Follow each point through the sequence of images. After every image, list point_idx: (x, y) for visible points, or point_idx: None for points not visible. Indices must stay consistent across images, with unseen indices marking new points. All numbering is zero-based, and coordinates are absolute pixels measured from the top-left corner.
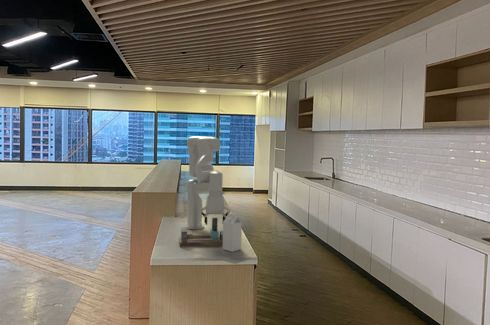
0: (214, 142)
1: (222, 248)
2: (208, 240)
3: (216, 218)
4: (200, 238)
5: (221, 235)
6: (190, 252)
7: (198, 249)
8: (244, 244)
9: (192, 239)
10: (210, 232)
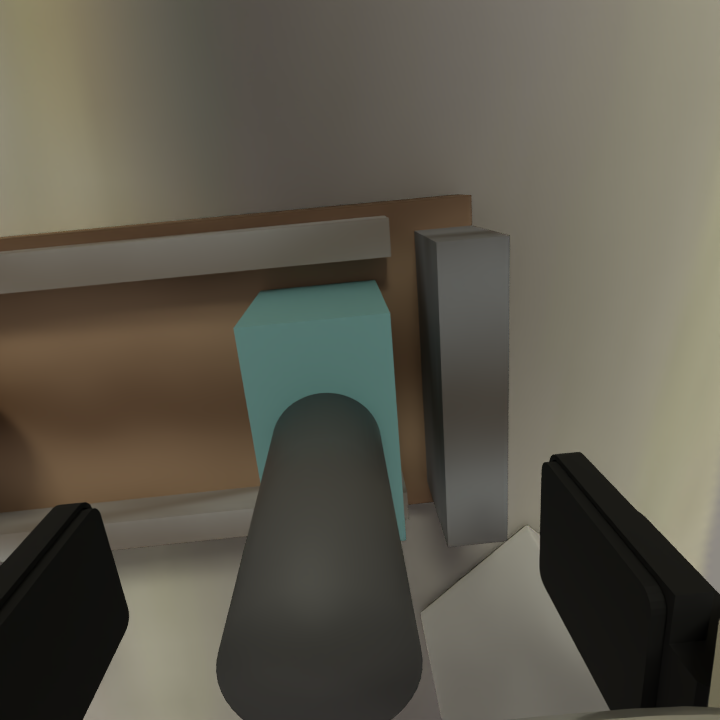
0: None
1: (421, 619)
2: (246, 529)
3: (379, 703)
4: (102, 305)
5: (442, 506)
6: (98, 713)
7: (160, 620)
8: (714, 395)
9: (7, 544)
10: (246, 315)
